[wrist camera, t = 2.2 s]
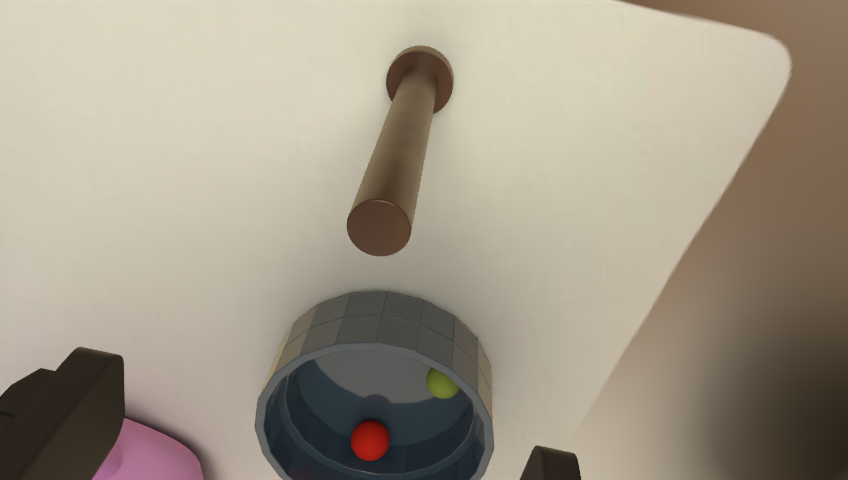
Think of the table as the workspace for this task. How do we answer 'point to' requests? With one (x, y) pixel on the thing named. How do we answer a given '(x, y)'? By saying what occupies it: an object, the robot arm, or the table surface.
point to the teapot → (148, 457)
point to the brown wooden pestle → (400, 152)
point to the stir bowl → (376, 393)
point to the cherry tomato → (370, 440)
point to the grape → (440, 384)
